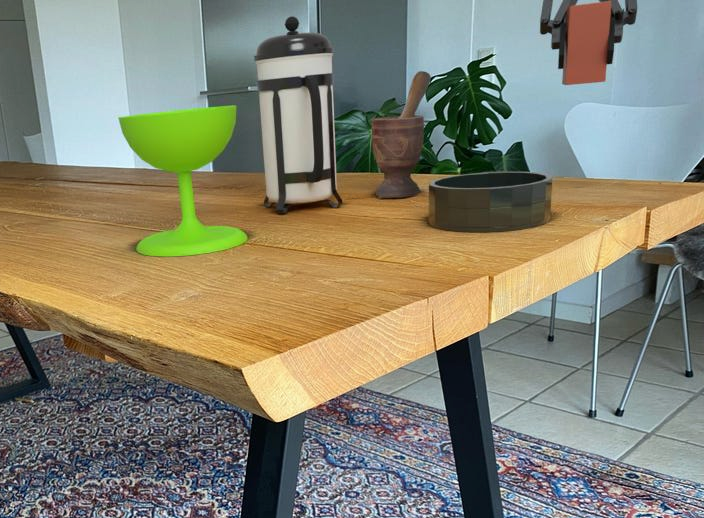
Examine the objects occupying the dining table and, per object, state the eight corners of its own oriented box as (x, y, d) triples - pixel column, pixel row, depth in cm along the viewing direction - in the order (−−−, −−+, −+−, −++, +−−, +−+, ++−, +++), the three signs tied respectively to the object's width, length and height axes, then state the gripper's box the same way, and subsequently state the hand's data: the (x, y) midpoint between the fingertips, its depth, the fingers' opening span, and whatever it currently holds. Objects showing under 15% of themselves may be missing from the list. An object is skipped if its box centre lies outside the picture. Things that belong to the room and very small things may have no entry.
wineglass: (242, 228, 113) (231, 104, 107) (253, 248, 98) (241, 106, 92) (138, 239, 112) (121, 115, 106) (133, 261, 97) (114, 119, 91)
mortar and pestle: (390, 189, 136) (389, 74, 130) (436, 188, 132) (437, 69, 125) (365, 199, 128) (362, 76, 121) (413, 199, 123) (413, 71, 116)
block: (600, 80, 115) (606, 3, 111) (605, 81, 110) (611, 0, 106) (562, 84, 117) (566, 8, 113) (565, 85, 112) (569, 5, 108)
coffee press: (237, 214, 125) (221, 22, 115) (291, 198, 137) (281, 22, 126) (323, 218, 115) (313, 6, 104) (374, 200, 126) (370, 7, 115)
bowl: (544, 208, 105) (546, 168, 103) (554, 230, 91) (557, 185, 89) (432, 213, 110) (432, 175, 108) (426, 234, 96) (425, 191, 94)
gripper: (654, -40, 117) (654, 71, 109) (526, -22, 125) (517, 84, 116) (662, -84, 111) (662, 31, 102) (526, -61, 118) (516, 47, 110)
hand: (585, 59), depth 109 cm, fingers closed on block, 6 cm apart
